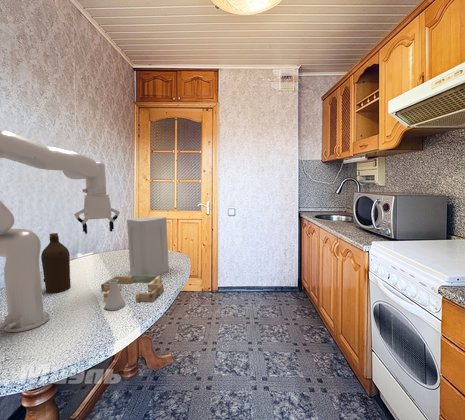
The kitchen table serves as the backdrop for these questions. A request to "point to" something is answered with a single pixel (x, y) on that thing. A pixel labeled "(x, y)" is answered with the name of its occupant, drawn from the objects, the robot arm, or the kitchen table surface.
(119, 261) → the kitchen table surface
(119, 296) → the flask
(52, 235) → the olive oil
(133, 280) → the zigzag wooden frame
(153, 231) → the paper bag
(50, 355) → the kitchen table surface
